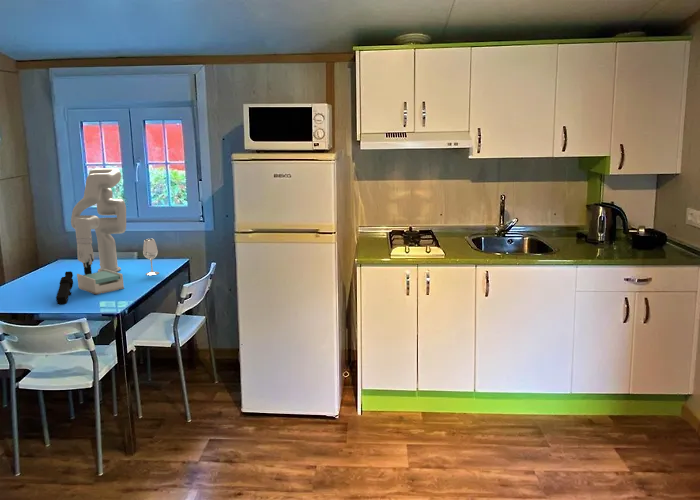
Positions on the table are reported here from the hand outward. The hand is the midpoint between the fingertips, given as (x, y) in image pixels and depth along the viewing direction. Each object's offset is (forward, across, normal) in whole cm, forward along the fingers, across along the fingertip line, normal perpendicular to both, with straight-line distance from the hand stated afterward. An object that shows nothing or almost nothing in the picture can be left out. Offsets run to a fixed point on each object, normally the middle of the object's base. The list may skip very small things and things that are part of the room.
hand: (88, 274), depth 323 cm
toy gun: (+6, +18, -20) cm, 27 cm away
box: (+6, +14, 0) cm, 15 cm away
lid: (+1, +14, 0) cm, 14 cm away
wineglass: (+6, +6, +34) cm, 35 cm away
